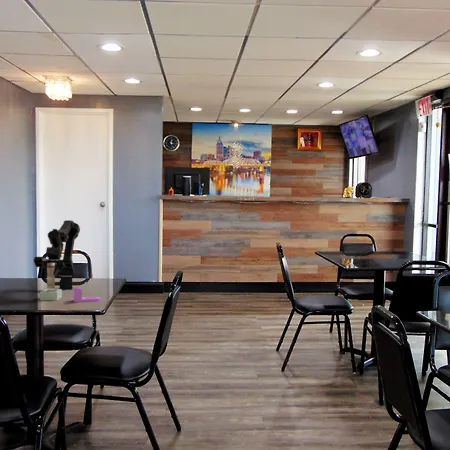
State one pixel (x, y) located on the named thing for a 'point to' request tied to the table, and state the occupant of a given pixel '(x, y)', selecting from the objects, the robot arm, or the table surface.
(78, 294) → the bracket
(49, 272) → the beige cylinder
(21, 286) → the table surface
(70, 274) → the robot arm
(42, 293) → the square frame
